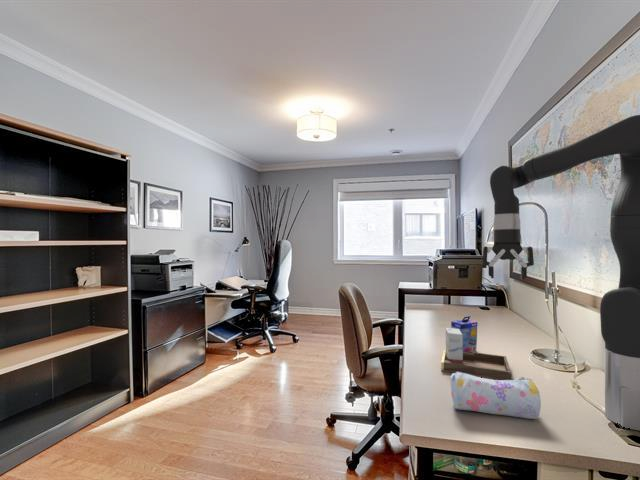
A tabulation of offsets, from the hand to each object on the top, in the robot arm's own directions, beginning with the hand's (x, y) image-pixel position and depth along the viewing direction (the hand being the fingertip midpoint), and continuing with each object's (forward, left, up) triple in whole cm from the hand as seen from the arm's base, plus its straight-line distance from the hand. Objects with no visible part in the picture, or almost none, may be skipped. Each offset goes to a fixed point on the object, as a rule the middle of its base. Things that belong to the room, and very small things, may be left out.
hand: (507, 278), depth 106 cm
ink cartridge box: (+25, +13, -33) cm, 43 cm away
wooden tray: (+7, +9, -33) cm, 35 cm away
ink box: (+7, +16, -32) cm, 37 cm away
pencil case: (-24, +6, -33) cm, 41 cm away
